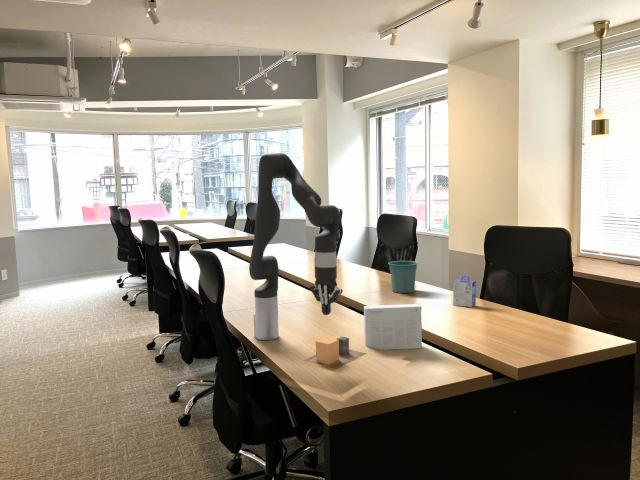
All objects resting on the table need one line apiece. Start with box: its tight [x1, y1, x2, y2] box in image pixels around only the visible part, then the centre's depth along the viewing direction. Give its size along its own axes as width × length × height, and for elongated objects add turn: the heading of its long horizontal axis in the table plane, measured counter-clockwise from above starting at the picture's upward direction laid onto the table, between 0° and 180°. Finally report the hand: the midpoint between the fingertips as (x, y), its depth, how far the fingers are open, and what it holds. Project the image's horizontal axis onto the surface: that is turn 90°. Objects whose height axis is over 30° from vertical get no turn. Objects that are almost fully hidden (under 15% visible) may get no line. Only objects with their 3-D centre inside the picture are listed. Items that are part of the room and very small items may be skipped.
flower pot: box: [387, 260, 418, 294], centre depth 284 cm, size 16×16×16 cm
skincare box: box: [363, 303, 423, 351], centre depth 190 cm, size 21×6×16 cm, turn 92°
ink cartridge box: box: [452, 275, 477, 308], centre depth 250 cm, size 10×6×14 cm, turn 53°
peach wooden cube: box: [315, 336, 339, 364], centre depth 173 cm, size 6×6×7 cm
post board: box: [304, 336, 367, 370], centre depth 177 cm, size 14×18×7 cm
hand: (326, 314), depth 174 cm, fingers closed
